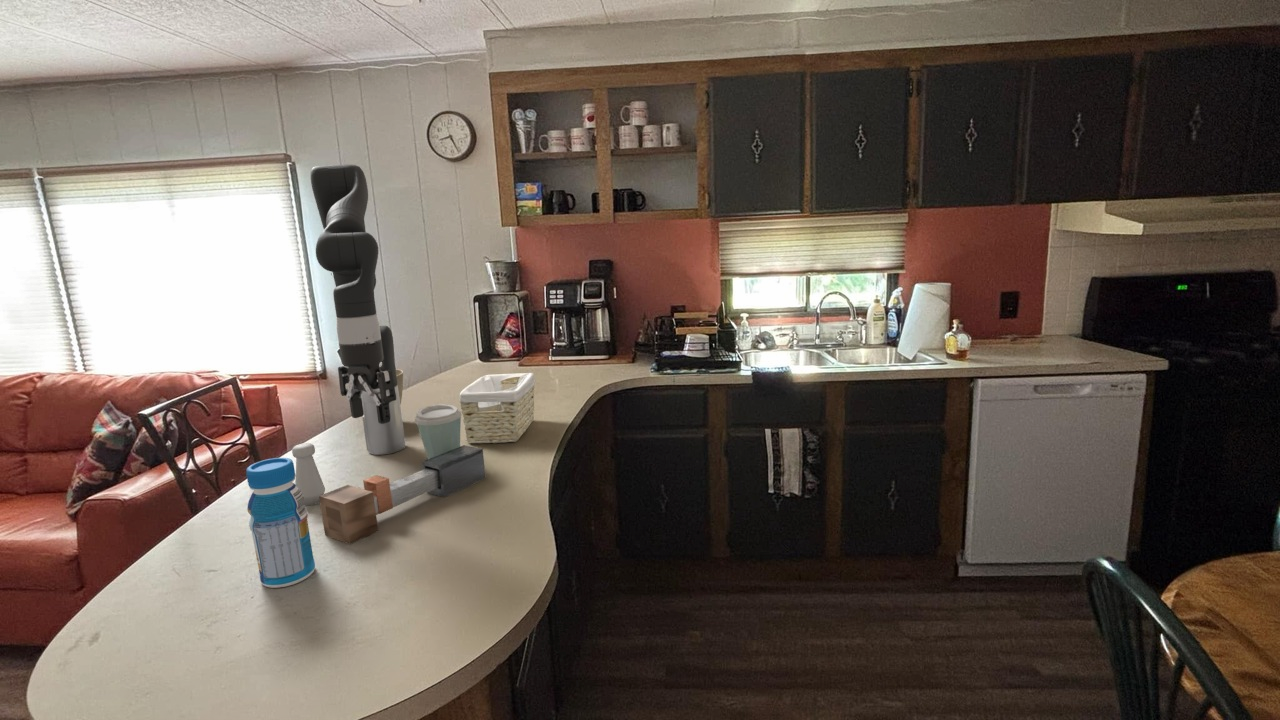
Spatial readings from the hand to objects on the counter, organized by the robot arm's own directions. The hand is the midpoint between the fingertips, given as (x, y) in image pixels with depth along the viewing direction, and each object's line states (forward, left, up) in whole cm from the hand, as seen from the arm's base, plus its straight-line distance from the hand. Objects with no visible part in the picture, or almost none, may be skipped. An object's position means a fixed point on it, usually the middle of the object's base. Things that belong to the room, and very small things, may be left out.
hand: (371, 419), depth 126 cm
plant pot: (-57, +41, -21) cm, 73 cm away
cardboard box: (+1, -8, -20) cm, 22 cm away
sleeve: (+1, +18, -20) cm, 27 cm away
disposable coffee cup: (-10, +24, -21) cm, 33 cm away
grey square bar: (+1, +3, -18) cm, 18 cm away
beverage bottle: (+6, -23, -21) cm, 31 cm away
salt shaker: (-21, -3, -21) cm, 30 cm away
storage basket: (-18, +52, -21) cm, 59 cm away
